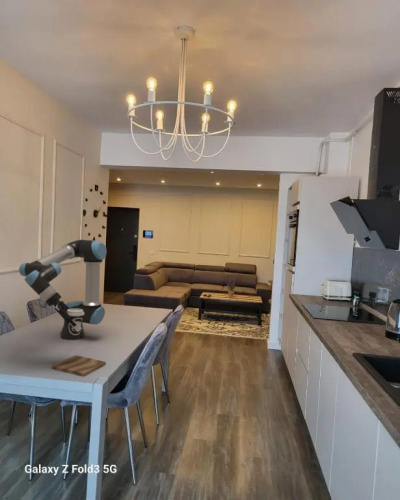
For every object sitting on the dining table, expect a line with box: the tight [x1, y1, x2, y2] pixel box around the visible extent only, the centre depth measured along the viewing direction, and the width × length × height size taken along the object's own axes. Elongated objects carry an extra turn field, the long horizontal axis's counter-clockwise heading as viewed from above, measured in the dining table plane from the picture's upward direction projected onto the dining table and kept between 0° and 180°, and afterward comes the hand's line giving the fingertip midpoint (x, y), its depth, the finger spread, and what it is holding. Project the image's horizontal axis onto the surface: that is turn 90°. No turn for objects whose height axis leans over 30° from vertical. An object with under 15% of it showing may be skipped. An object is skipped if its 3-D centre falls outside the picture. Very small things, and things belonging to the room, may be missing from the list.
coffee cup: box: [66, 309, 84, 341], centre depth 185 cm, size 10×10×15 cm
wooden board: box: [51, 354, 107, 377], centre depth 183 cm, size 20×18×2 cm
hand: (80, 327), depth 186 cm, fingers closed on coffee cup, 8 cm apart
